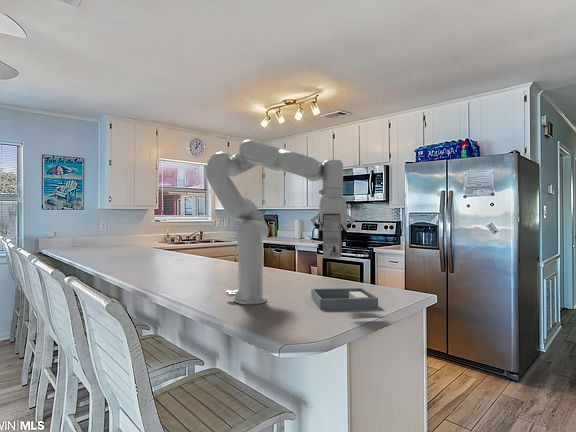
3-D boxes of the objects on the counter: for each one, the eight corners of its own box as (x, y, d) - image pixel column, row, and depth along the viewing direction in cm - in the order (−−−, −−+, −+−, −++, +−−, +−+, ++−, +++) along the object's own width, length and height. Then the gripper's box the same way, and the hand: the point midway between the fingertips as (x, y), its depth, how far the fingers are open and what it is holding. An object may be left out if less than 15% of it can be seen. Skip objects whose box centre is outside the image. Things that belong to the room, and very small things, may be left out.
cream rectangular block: (356, 305, 131) (356, 297, 131) (348, 299, 141) (348, 291, 141) (368, 305, 131) (368, 297, 131) (360, 299, 141) (360, 291, 141)
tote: (320, 312, 125) (320, 299, 125) (311, 300, 143) (311, 288, 143) (378, 311, 127) (378, 298, 127) (361, 299, 146) (361, 288, 146)
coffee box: (324, 255, 140) (325, 213, 140) (341, 255, 139) (341, 213, 139) (322, 258, 131) (322, 213, 131) (340, 258, 130) (340, 213, 130)
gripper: (311, 192, 130) (311, 241, 130) (358, 193, 132) (358, 241, 132) (307, 194, 138) (307, 240, 138) (352, 194, 140) (352, 240, 140)
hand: (332, 240), depth 135 cm, fingers closed on coffee box, 7 cm apart
